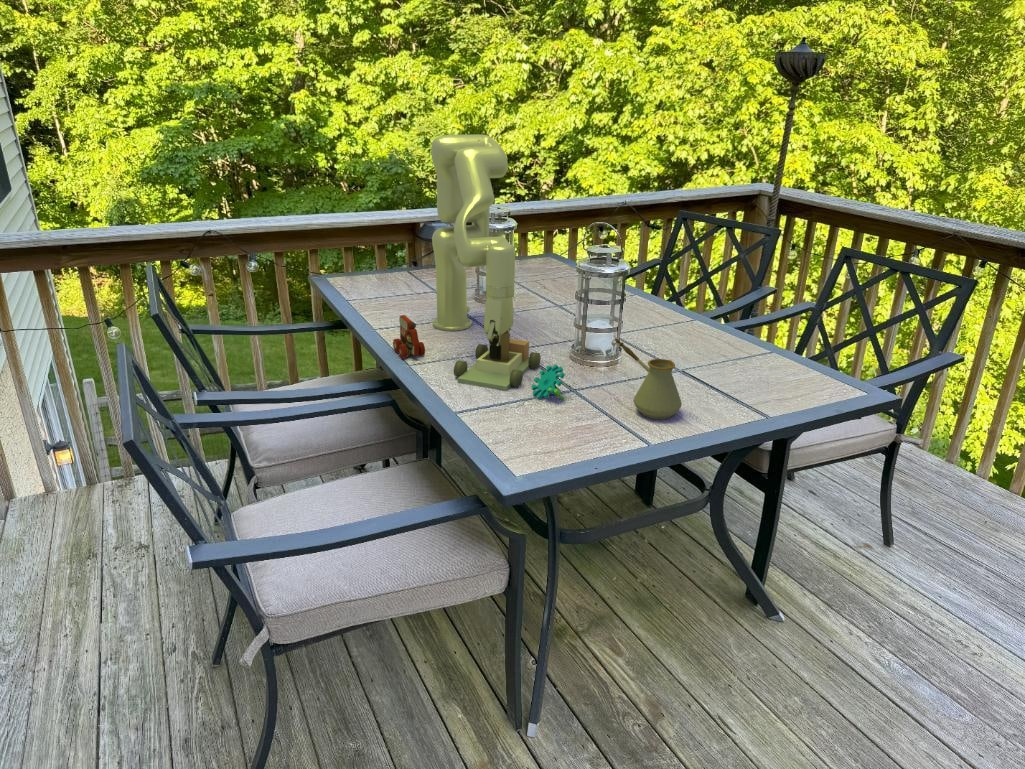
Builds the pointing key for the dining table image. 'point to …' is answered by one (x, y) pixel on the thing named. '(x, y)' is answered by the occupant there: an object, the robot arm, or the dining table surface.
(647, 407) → the coffee pot
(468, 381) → the chassis
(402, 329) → the red toy vehicle
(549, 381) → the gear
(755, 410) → the dining table surface
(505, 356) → the wooden block
